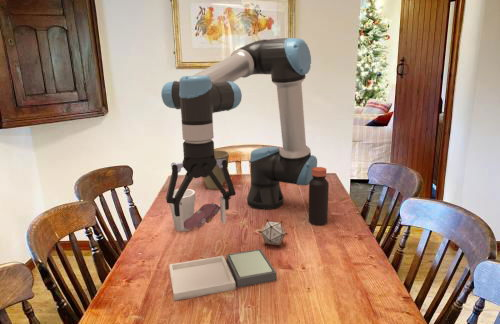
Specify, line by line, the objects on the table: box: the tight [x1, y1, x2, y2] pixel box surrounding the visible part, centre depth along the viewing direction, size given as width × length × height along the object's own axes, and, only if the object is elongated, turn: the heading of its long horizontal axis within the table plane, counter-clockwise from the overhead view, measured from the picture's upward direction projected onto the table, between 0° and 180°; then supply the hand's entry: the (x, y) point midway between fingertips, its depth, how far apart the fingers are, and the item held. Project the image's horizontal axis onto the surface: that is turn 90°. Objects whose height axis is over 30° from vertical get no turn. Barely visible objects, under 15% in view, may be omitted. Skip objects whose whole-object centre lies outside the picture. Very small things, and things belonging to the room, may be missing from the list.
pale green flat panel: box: [230, 251, 273, 278], centre depth 105 cm, size 9×12×1 cm
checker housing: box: [225, 248, 277, 289], centre depth 105 cm, size 11×14×2 cm
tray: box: [168, 255, 237, 302], centre depth 102 cm, size 16×15×2 cm
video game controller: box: [184, 201, 220, 230], centre depth 97 cm, size 10×5×7 cm, turn 150°
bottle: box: [308, 166, 330, 226], centre depth 134 cm, size 7×7×20 cm
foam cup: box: [168, 188, 196, 232], centre depth 132 cm, size 10×9×13 cm
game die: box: [258, 218, 288, 248], centre depth 120 cm, size 9×8×10 cm
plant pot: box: [202, 149, 230, 190], centre depth 175 cm, size 15×15×16 cm
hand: (202, 224), depth 98 cm, fingers closed on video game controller, 10 cm apart
